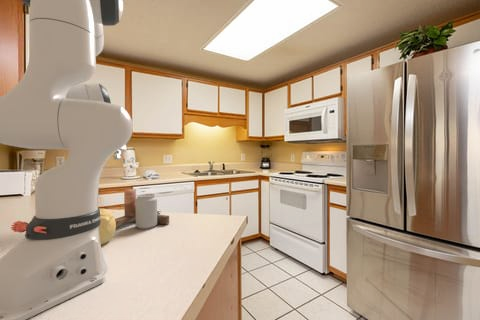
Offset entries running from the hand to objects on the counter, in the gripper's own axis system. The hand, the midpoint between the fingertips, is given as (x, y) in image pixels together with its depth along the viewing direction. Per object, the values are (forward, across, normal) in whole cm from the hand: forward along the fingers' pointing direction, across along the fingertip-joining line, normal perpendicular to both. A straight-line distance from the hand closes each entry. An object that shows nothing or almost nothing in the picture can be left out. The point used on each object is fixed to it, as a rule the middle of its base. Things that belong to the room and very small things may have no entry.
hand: (107, 156), depth 87 cm
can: (+28, +10, +2) cm, 30 cm away
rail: (+23, +14, +8) cm, 28 cm away
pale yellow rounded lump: (+30, -7, +7) cm, 32 cm away
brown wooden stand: (+27, +9, +3) cm, 29 cm away
